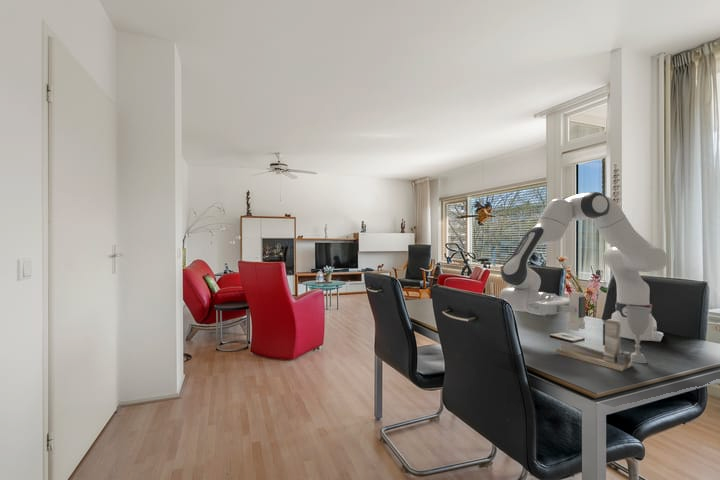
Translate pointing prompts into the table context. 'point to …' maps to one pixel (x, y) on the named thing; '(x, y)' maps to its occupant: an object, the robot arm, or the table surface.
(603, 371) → the table surface
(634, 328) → the chalice
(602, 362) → the wooden stand
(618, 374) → the table surface
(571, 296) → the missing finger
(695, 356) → the table surface
